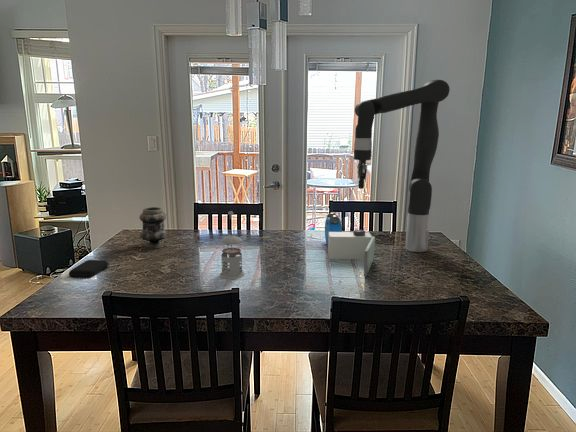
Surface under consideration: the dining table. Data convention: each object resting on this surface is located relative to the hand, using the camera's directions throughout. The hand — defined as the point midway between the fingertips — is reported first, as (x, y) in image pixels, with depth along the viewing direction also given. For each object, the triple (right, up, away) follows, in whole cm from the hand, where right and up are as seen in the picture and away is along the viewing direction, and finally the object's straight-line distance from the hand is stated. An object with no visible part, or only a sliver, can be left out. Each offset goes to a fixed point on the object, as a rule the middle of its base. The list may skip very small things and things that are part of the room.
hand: (361, 188), depth 188 cm
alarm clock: (-11, -26, +17) cm, 33 cm away
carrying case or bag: (-109, -34, -22) cm, 117 cm away
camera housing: (-5, -30, -1) cm, 30 cm away
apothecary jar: (-95, -26, +12) cm, 99 cm away
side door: (0, -33, -16) cm, 37 cm away
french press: (-54, -35, -23) cm, 68 cm away
